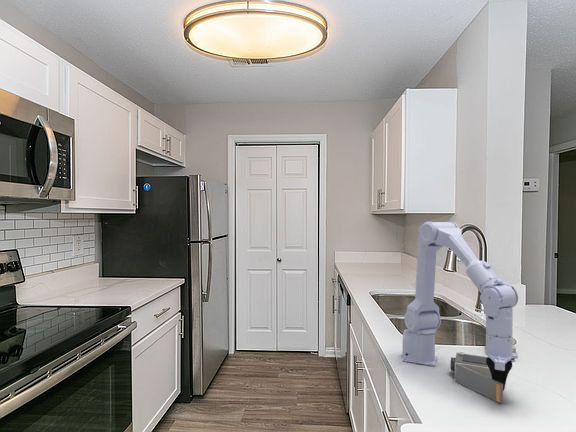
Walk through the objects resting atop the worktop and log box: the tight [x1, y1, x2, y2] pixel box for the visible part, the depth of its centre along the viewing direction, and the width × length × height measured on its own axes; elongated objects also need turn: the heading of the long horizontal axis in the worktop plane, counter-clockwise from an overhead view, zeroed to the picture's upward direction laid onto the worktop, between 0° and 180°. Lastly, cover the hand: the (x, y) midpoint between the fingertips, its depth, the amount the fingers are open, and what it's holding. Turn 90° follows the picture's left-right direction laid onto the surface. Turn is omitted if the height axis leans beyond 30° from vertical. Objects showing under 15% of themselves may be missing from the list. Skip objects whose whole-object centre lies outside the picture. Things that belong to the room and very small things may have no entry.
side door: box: [454, 363, 504, 404], centre depth 99 cm, size 14×1×5 cm, turn 22°
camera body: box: [450, 351, 492, 379], centre depth 108 cm, size 11×8×6 cm
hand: (498, 389), depth 96 cm, fingers closed
